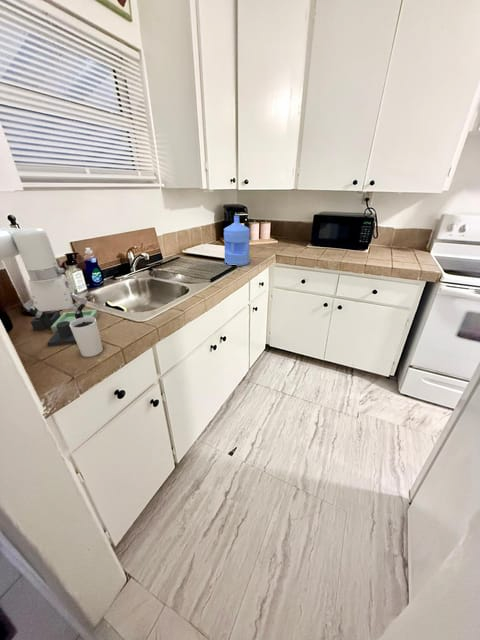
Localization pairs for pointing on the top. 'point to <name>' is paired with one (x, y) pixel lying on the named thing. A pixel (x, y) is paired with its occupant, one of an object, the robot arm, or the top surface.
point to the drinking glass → (87, 336)
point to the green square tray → (73, 317)
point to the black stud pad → (62, 335)
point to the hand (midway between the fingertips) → (64, 324)
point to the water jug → (236, 243)
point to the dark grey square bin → (52, 317)
